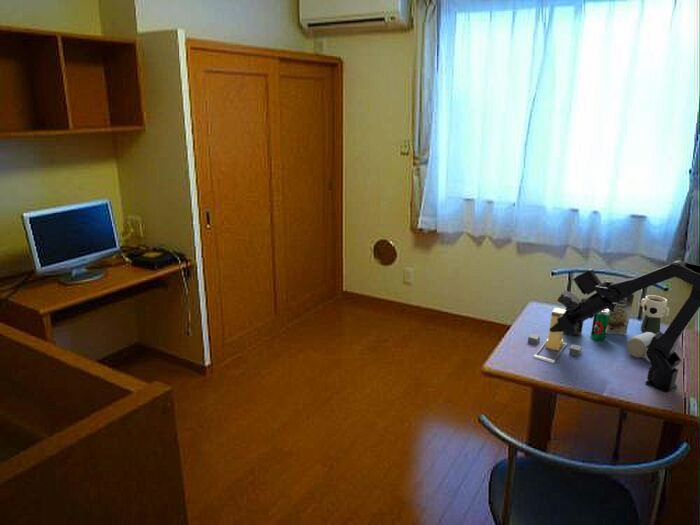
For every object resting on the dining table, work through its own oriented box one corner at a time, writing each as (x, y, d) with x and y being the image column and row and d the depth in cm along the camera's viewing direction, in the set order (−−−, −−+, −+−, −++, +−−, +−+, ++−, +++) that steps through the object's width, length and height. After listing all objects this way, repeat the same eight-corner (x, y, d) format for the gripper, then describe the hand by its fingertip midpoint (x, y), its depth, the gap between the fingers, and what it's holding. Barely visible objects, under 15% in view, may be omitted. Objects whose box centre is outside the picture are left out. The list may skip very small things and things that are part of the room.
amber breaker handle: (562, 346, 183) (567, 310, 179) (558, 350, 180) (564, 314, 176) (549, 342, 186) (554, 307, 182) (545, 347, 182) (550, 311, 178)
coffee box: (599, 333, 196) (607, 292, 191) (596, 326, 202) (603, 286, 197) (626, 336, 194) (634, 294, 189) (622, 328, 200) (629, 288, 195)
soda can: (607, 344, 187) (612, 313, 184) (591, 343, 188) (596, 311, 185) (603, 338, 192) (608, 307, 188) (588, 337, 193) (593, 306, 189)
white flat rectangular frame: (585, 353, 181) (587, 344, 180) (573, 372, 169) (575, 363, 168) (526, 337, 192) (527, 329, 191) (511, 354, 180) (512, 345, 179)
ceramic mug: (623, 353, 182) (627, 332, 179) (639, 348, 185) (643, 328, 183) (651, 367, 173) (656, 346, 170) (668, 362, 176) (673, 341, 174)
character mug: (630, 327, 202) (636, 294, 198) (643, 323, 205) (649, 292, 201) (656, 338, 192) (663, 305, 188) (669, 335, 195) (677, 302, 191)
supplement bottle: (582, 334, 195) (587, 303, 192) (579, 341, 190) (584, 309, 186) (563, 329, 199) (567, 299, 195) (558, 336, 193) (563, 305, 190)
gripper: (582, 277, 181) (545, 300, 190) (568, 293, 166) (528, 317, 176) (604, 305, 179) (565, 326, 188) (591, 323, 164) (549, 346, 174)
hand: (552, 328), depth 182 cm, fingers closed on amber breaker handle, 4 cm apart
